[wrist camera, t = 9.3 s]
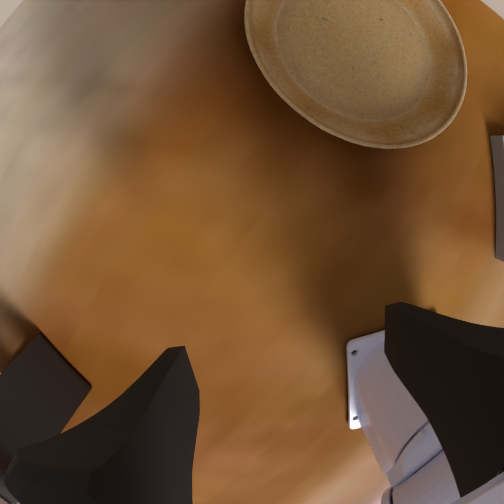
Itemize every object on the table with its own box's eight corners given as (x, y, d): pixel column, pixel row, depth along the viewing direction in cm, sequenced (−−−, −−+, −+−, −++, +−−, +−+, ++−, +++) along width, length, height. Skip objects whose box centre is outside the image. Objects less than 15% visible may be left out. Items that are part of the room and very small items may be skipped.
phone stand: (45, 418, 23) (-4, 507, 11) (1, 374, 21) (-64, 453, 10) (93, 386, 22) (36, 501, 10) (41, 331, 20) (-46, 428, 9)
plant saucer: (217, 115, 18) (214, 107, 15) (269, -59, 14) (274, -79, 12) (430, 179, 19) (453, 182, 17) (449, 12, 16) (467, 1, 13)
